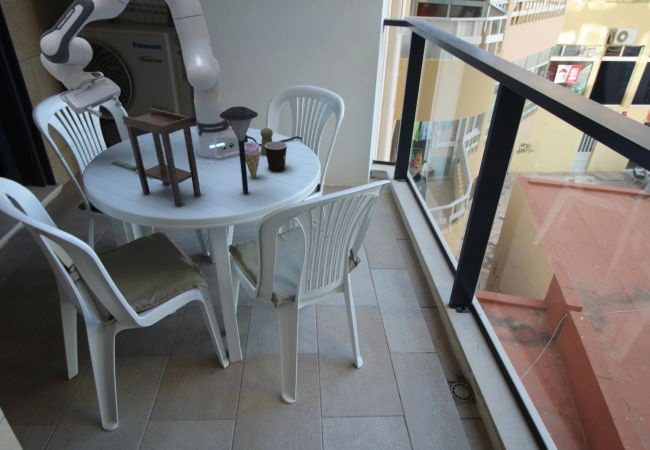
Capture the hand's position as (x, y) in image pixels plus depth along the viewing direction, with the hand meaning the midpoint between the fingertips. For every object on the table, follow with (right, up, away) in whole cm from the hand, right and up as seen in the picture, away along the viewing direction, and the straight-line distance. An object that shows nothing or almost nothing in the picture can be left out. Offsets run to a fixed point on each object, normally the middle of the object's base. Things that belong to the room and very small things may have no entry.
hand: (110, 110), depth 149 cm
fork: (+7, -22, +5) cm, 23 cm away
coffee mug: (+63, -20, +10) cm, 67 cm away
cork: (+57, -12, +22) cm, 62 cm away
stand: (+28, -33, -12) cm, 45 cm away
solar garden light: (+54, -32, -10) cm, 63 cm away
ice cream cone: (+54, -26, +1) cm, 60 cm away
